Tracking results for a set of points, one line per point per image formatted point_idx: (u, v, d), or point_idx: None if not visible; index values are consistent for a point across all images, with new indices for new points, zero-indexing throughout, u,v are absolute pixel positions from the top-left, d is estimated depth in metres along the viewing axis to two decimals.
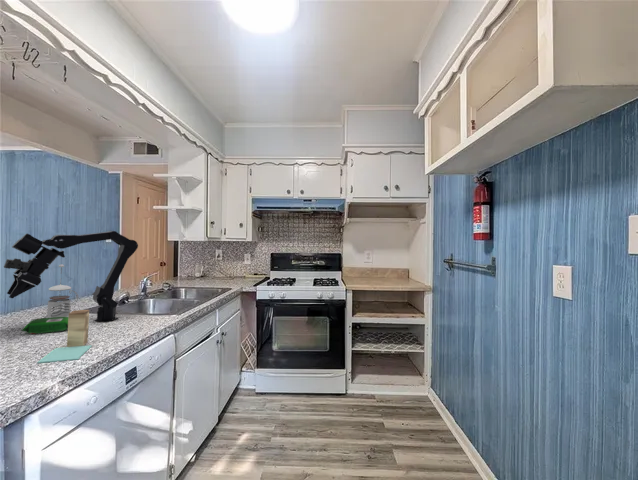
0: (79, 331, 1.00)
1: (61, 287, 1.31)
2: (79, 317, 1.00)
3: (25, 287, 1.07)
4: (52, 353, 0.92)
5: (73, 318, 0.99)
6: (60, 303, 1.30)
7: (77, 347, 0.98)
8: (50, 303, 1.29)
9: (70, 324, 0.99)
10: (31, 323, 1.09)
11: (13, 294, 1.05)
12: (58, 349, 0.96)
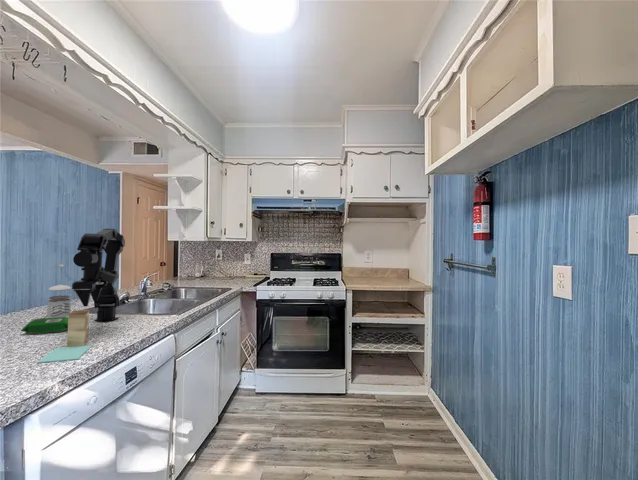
0: (79, 331, 1.00)
1: (61, 287, 1.31)
2: (79, 317, 1.00)
3: None
4: (52, 353, 0.92)
5: (73, 318, 0.99)
6: (60, 303, 1.30)
7: (77, 347, 0.98)
8: (50, 303, 1.29)
9: (70, 324, 0.99)
10: (30, 323, 1.09)
11: None
12: (58, 349, 0.96)
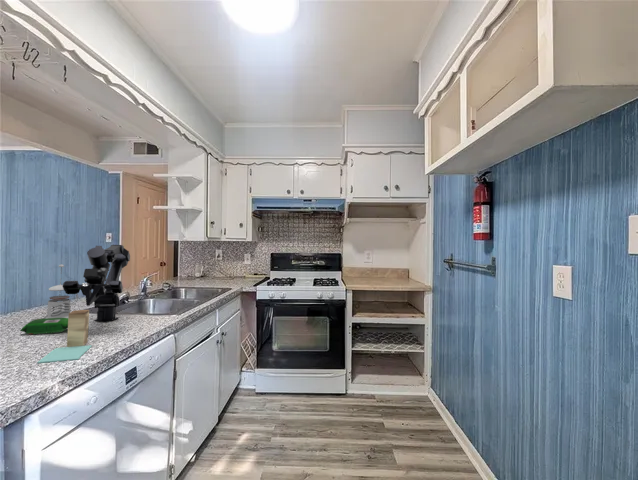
0: (79, 331, 1.00)
1: (60, 287, 1.31)
2: (79, 317, 1.00)
3: (97, 295, 1.14)
4: (52, 353, 0.92)
5: (73, 318, 0.99)
6: (60, 303, 1.30)
7: (77, 347, 0.98)
8: (50, 303, 1.29)
9: (70, 324, 0.99)
10: (29, 323, 1.09)
11: (91, 301, 1.10)
12: (58, 349, 0.96)
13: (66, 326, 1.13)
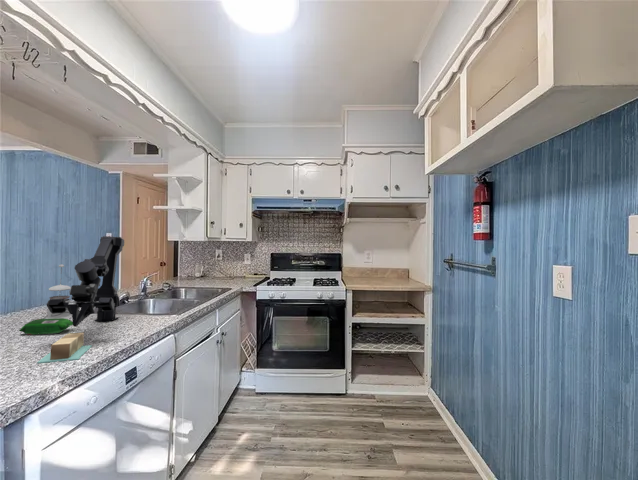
0: None
1: (61, 287, 1.31)
2: None
3: (85, 314, 1.03)
4: None
5: None
6: None
7: None
8: None
9: None
10: (27, 324, 1.09)
11: (78, 321, 0.99)
12: None
13: (63, 327, 1.12)
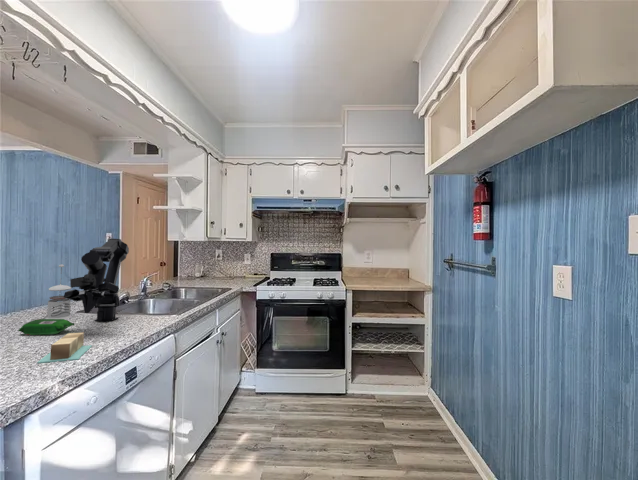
0: None
1: (61, 287, 1.31)
2: None
3: (95, 300, 1.12)
4: None
5: None
6: (60, 303, 1.30)
7: None
8: (50, 303, 1.29)
9: None
10: (26, 324, 1.08)
11: (89, 308, 1.09)
12: None
13: (60, 328, 1.10)
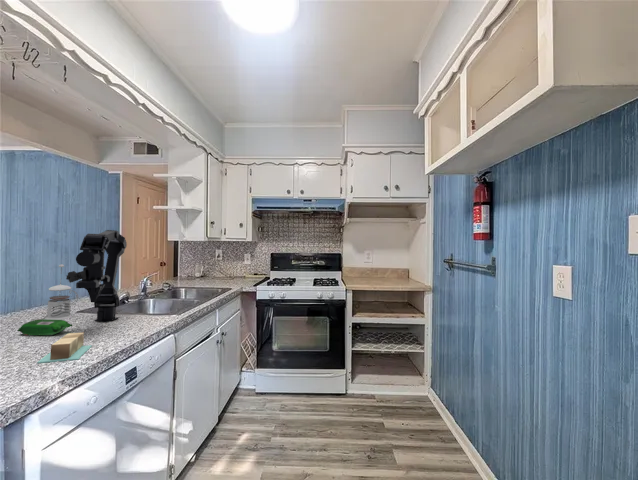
0: None
1: (60, 287, 1.31)
2: None
3: (95, 290, 1.15)
4: None
5: None
6: (60, 303, 1.30)
7: None
8: (50, 303, 1.29)
9: None
10: (25, 324, 1.08)
11: (92, 299, 1.15)
12: None
13: (56, 329, 1.09)
